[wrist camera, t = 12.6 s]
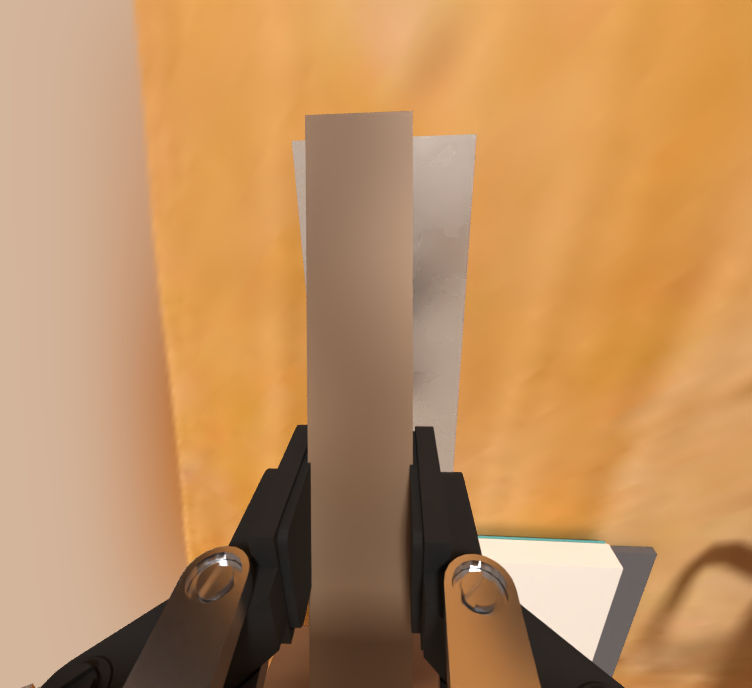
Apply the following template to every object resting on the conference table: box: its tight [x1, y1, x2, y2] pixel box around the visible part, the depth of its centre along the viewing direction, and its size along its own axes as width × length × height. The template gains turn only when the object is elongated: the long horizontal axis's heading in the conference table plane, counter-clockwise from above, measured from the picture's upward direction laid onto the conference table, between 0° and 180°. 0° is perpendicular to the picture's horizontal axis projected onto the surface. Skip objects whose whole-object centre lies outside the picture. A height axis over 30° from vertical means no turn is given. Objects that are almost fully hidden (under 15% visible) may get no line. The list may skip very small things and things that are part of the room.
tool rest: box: [292, 134, 476, 472], centre depth 20 cm, size 8×20×1 cm, turn 1°
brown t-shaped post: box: [263, 111, 438, 688], centre depth 11 cm, size 6×17×4 cm, turn 1°
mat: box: [592, 546, 657, 677], centre depth 28 cm, size 16×15×1 cm
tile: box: [478, 536, 623, 661], centre depth 25 cm, size 9×2×11 cm
